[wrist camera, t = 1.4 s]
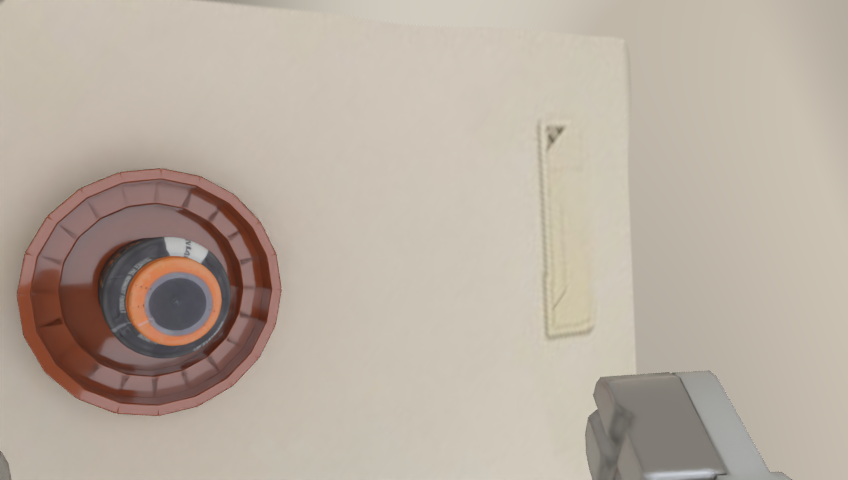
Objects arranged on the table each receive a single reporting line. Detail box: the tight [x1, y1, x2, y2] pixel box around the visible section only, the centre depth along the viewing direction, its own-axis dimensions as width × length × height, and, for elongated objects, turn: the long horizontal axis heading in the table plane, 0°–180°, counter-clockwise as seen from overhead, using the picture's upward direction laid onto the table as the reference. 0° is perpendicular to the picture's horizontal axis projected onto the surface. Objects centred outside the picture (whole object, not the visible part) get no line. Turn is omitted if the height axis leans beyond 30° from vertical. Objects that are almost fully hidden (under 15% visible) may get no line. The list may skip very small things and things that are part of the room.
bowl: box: [17, 168, 281, 416], centre depth 40 cm, size 13×13×4 cm
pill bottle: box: [98, 237, 231, 358], centre depth 36 cm, size 6×6×11 cm
